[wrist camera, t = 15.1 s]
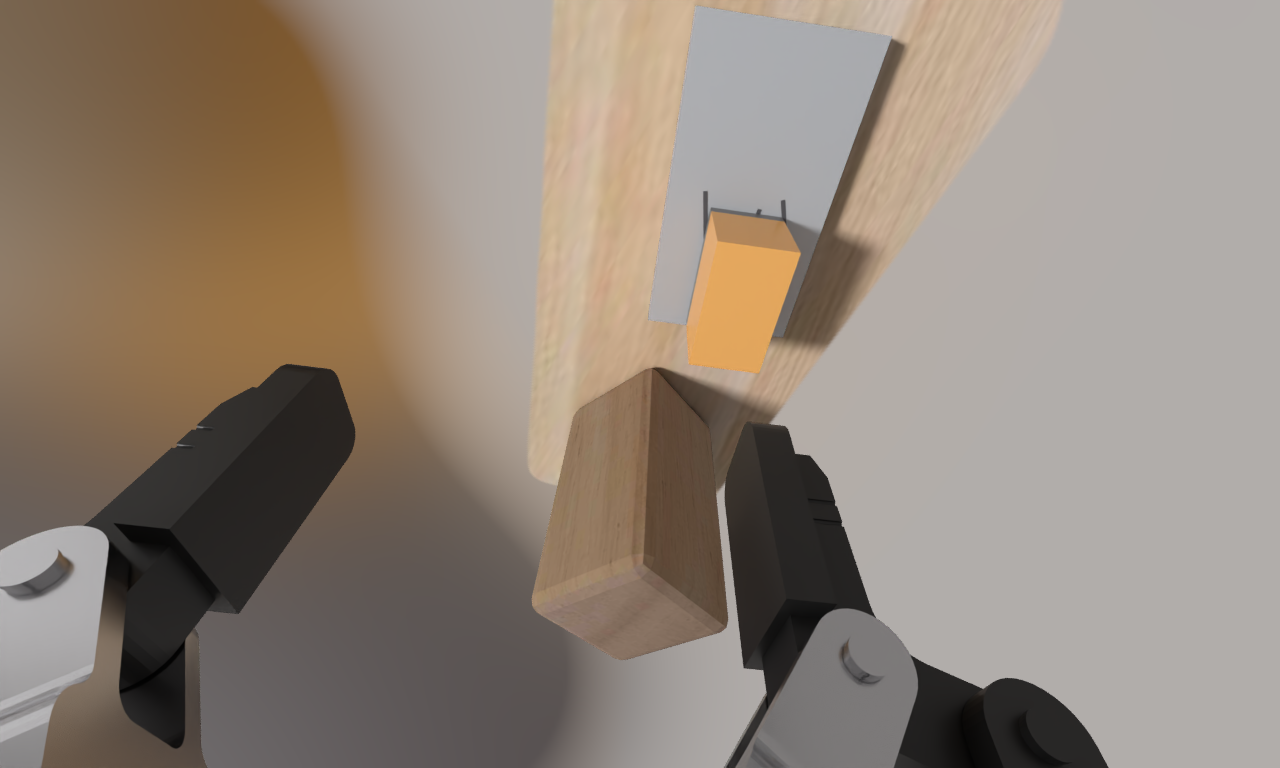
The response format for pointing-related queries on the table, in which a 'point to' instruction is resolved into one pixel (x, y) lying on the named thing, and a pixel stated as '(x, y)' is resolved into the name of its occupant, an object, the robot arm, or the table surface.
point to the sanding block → (739, 289)
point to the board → (760, 137)
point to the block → (635, 525)
